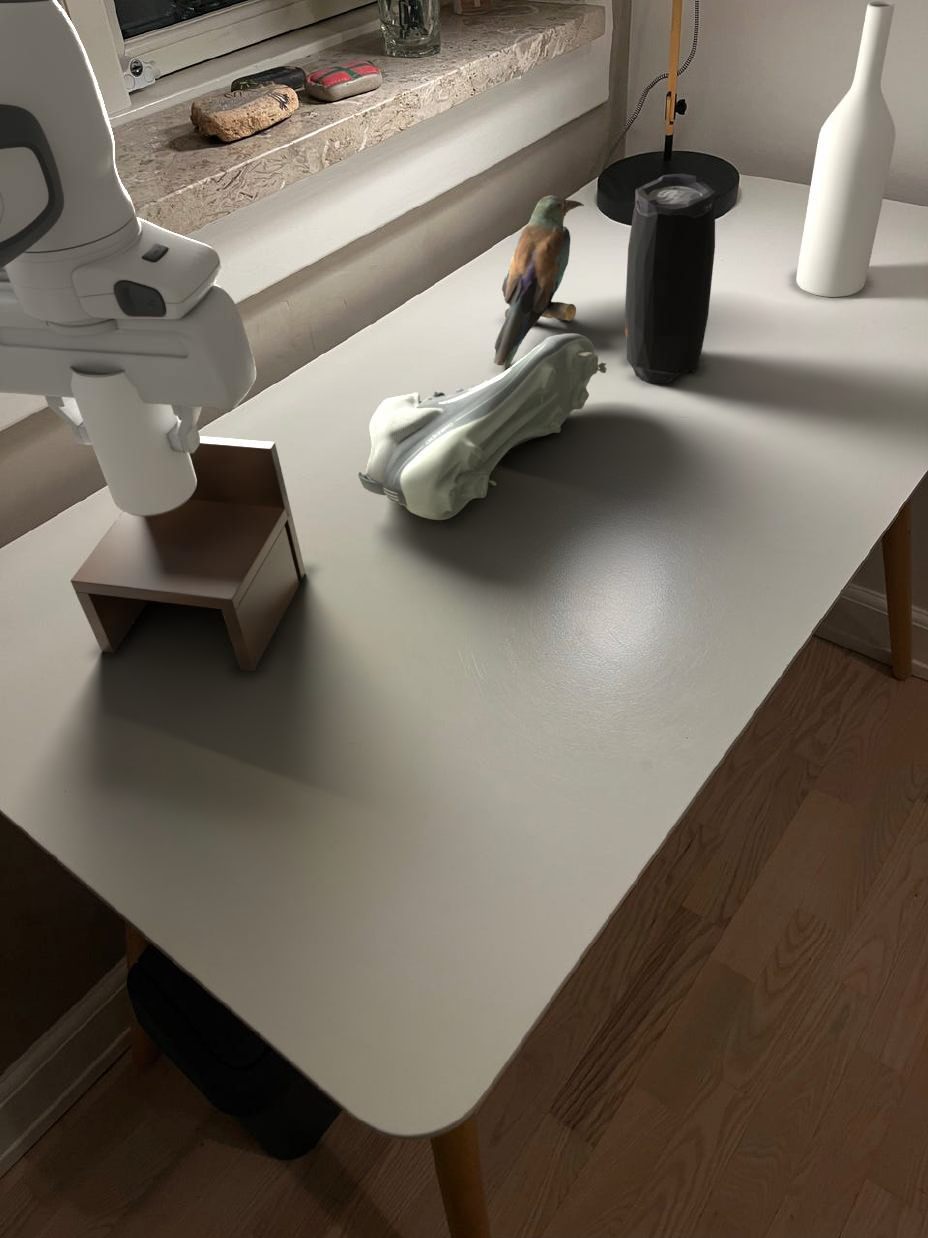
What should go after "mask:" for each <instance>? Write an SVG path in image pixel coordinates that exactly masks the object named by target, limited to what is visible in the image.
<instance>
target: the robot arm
mask: <svg viewBox="0 0 928 1238" xmlns="http://www.w3.org/2000/svg"><path fill="white" fill-rule="evenodd" d="M98 85H99V84H98V82H97V79H96V76H95V74H94V72H93V68H92V66H91V63H90V61H89V57H88V55H87V52H86V50H85V48H84V46H83V43H82V41H81V39H80V37H79V35H78V33H77V31H76V28H75V27H74V24H73V23H72V21H71V20H70V18H69V16H68V15H67V13H66V11H65V10H64V8H62V6H61V5H60V4H59V2H58V1H57V0H0V393H1V394H2V393H3V394H15V395H16V394H18V395H29V396H30V395H31V396H44V398H45V401H46V403H47V405H48V407H49V408H50V409H51V410H52V411H53V412H54V413H55V414H56V415H57V416H58V417H59V418H60V419H61V420H62V421H63V422H65V424H67V425H68V426H69V427H70V428H71V430H72V432H73V434H74V435H73V436H74V438H75V440H76V442H77V443H78V444H80V445H88V446H92V443H91V441H90V438H89V435H88V433H87V430H86V427H85V425H84V422H83V419H82V417H81V414H80V411H79V409H78V406H77V403H76V400H75V398H74V395H73V392H72V389H71V380H72V376H73V371H72V370H71V369H70V366H71V367H73V369H74V370H76V371H84V372H93V371H96V372H98V373H114V372H118V371H121V370H125V372H124V374H125V376H126V378H127V379H128V380H129V381H130V382H131V383H132V385H133V386H134V387H135V388H136V389H137V391H138V393H139V396H140V398H141V399H142V401H143V402H144V403H149V404H163V405H171V406H172V409H173V412H174V415H176V416H178V417H181V419H180V420H179V421H177V422H176V424H175V425H174V428H172V429H171V430H170V431H169V432H168V434H167V435H168V438H169V441H170V442H171V443H172V446H171V447H172V450H173V451H174V452H183V453H194V452H195V450H196V449H197V448H198V446H199V444H200V436H201V435H200V433H199V429H198V426H197V422H198V420H199V418H200V415H201V412H202V409H203V408H206V409H218V410H219V409H220V410H233V409H235V408H237V406H238V405H239V404H240V403H241V402H242V401H243V400H244V398H245V397H246V396H247V394H248V393H249V392H250V390H251V388H252V387H253V386H254V383H255V381H256V378H257V368H256V363H255V358H254V355H253V351H252V347H251V344H250V340H249V337H248V334H247V330H246V328H245V324H244V322H243V319H242V316H241V313H240V311H239V308H238V307H237V305H236V303H235V301H234V299H233V298H232V297H231V296H230V294H229V293H228V292H227V291H226V290H225V289H224V288H223V287H221V286H219V285H217V284H216V282H217V280H218V279H219V278H220V275H221V273H222V263H221V260H220V259H221V258H220V257H219V254H218V252H217V251H216V249H215V248H213V247H212V246H210V245H208V244H206V243H202V242H200V241H197V240H194V239H191V238H189V237H185V236H183V235H180V234H177V233H174V232H172V231H169V230H167V229H165V228H162V227H160V226H158V225H156V224H153V223H151V222H149V221H148V220H144V219H142V218H139V217H137V213H136V210H135V206H134V204H133V201H132V198H131V197H130V194H128V191H127V190H126V189H125V187H124V185H123V184H122V182H121V179H120V177H119V174H118V170H117V167H116V162H115V161H116V160H115V140H114V135H113V131H112V128H111V124H110V121H109V117H108V114H107V110H106V108H105V104H104V100H103V97H102V94H101V91H100V89H99V86H98Z"/></svg>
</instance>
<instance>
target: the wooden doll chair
mask: <svg viewBox="0 0 928 1238" xmlns="http://www.w3.org/2000/svg"><path fill="white" fill-rule="evenodd" d="M199 436H200V444H199V446H198V448H197V449H196V450H195V452H194V453H189V455H190V458H191V461H192V465H193V468H194V472H195V475H196V479H197V485H196V489H195V491H194V492H193V494H192V496H191V497H190V499H189V500H188V501H187V502H186V503H184V504H183V505H182V506H180V507H179V508H177V509H175V510H173V511H171V512H168V513H165V514H162V515H157V516H150V517H141V516H134V515H131V514H128V513H126V512H124V511H122V512H121V513H120V514H119V516H118V517H117V518H116V520H115V521H114V522H113V524H112V525H111V527H110V528H109V529H108V530H107V532H106V533H105V534H104V535H103V537H102V538H101V539H100V541H99V542H98V543H97V545H96V546H95V548H94V549H93V550H92V551H91V553H90V554H89V555H88V557H87V558H86V559H85V560H84V562H83V563H82V565H81V566H80V568H79V569H78V570H77V571H76V573H75V574H74V575H73V577H71V579H70V584H71V586H72V588H73V591H74V592H75V596H76V597H77V600H78V601H79V604H80V606H81V608H82V610H83V613H84V615H85V617H86V619H87V621H88V624H89V626H90V629H91V630H92V633H93V635H94V638H95V640H96V643H97V644H98V646H99V649H100V651H101V652H107V653H115V652H116V650H117V648H118V647H119V646H120V644H121V642H122V641H123V640H124V638H125V637H126V635H127V633H128V632H129V630H130V629H131V628H132V626H133V625H134V623H135V622H136V621H137V618H138V617H139V615H140V614H141V612H142V611H143V610H144V608H145V606H146V605H147V603H148V602H149V601H152V602H160V603H166V604H175V605H185V606H192V607H201V608H209V609H217V610H221V613H222V616H223V619H224V622H225V625H226V628H227V632H228V634H229V638H230V641H231V644H232V646H233V647H232V648H233V650H234V653H235V656H236V659H237V663H238V666H239V669H240V670H243V671H249V672H254V671H255V670H256V668H257V666H258V664H259V663H260V660H261V659H262V656H263V654H264V653H265V650H266V649H267V647H268V645H269V643H270V641H271V639H272V637H273V635H274V633H275V632H276V629H278V626H279V624H280V622H281V620H282V619H283V617H284V614H285V612H286V611H287V609H288V606H289V605H290V603H291V601H292V599H293V597H294V595H295V593H296V591H297V590H298V588H299V586H300V583H299V580H302V579H303V578H304V576H305V574H306V568H305V565H304V560H303V557H302V556H303V555H302V551H301V547H300V543H299V538H298V533H297V530H296V526H295V521H294V516H293V513H292V509H291V505H290V504H291V503H290V500H289V495H288V492H287V487H286V484H285V479H284V474H283V470H282V465H281V462H280V457H279V454H278V449H277V444H276V442H275V441H262V440H250V439H237V438H228V437H227V438H226V437H215V436H203V435H202V436H201V435H199Z"/></svg>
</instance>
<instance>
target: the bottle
mask: <svg viewBox="0 0 928 1238" xmlns="http://www.w3.org/2000/svg"><path fill="white" fill-rule="evenodd" d="M894 12H895V3H894V2H893V1H889V0H874V1H870V2H869V3H868V4H867V7H866V11H865V18H864V23H863V28H862V33H861V39H860V45H859V50H858V56H857V62H856V67H855V73H854V77H853V81H852V84H851V86H850V89H849V90H848V91H847V93H846V94H845V95H844V96H843V98H842V99H841V100H840V102H839V103H838V104H837V105H836V106H835V108H834V109H833V111H832V112H831V113H830V114H829V116H828V117H827V118H826V120H825V121H824V123H823V125H822V126H821V127H820V131H819V133H818V134H819V135H818V139H817V146H816V150H815V157H814V163H813V169H812V170H813V171H812V176H811V181H810V182H811V183H810V189H809V195H808V201H807V207H806V214H805V220H804V226H803V232H802V239H801V245H800V250H799V257H798V262H797V269H796V270H797V271H796V279H795V280H796V281H795V282H796V284H797V285H798V287H799V288H800V289H802V290H803V291H805V292H807V293H809V294H811V295H814V296H818V297H819V296H820V297H826V298H841V297H847V296H848V297H849V296H851V295H855V294H856V293H858V292H860V291H861V290H862V289H864V287H865V284H866V281H867V278H868V272H869V268H870V263H871V258H872V254H873V248H874V245H875V240H876V239H875V238H876V234H877V229H878V225H879V220H880V214H881V210H882V205H883V200H884V196H885V191H886V186H887V181H888V177H889V171H890V168H891V162H892V158H893V152H894V148H895V142H896V127H895V122H894V120H893V117H892V115H891V112H890V109H889V107H888V105H887V102H886V100H885V97H884V94H883V93H882V87H881V82H882V75H883V70H884V63H885V58H886V53H887V48H888V43H889V37H890V33H891V27H892V22H893V15H894Z"/></svg>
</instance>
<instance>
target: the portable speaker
mask: <svg viewBox="0 0 928 1238" xmlns="http://www.w3.org/2000/svg"><path fill="white" fill-rule="evenodd" d="M716 193H717V192H716V191H715V190H713V189H712V188H711V187H710V186H709V185H708V184H707V183H705V182H704V181H703V180H702V179H700V178H699V177H698V176H697V175H693V174H689V173H688V174H687V173H673V174H672V173H671V174H662V176H660V177H659V178H656V179H654V180H652V181H649V182H648V183H646V184H644V185H642V186H640V187H638V188H635V196H634V197H635V198H634V205H633V206H634V207H633V212H632V213H633V214H632V220H631V227H630V233H629V240H628V246H627V265H626V283H625V284H626V285H625V286H626V287H625V304H624V305H625V307H624V321H625V324H624V325H625V329H624V335H625V340H626V342H625V344H626V359H627V361H628V363H629V364H630V366H631V368H632V369H633V372H634V374H635V377H637V378H639V379H641V380H642V381H645V382H647V383H653V384H665V385H666V384H667V385H668V384H669V383H670V382H672V380H674V379H675V378H676V377H678V376H680V375H682V374H684V373H687V372H690V371H693V372H696V371H698V370H699V366H700V358H701V356H702V352H703V346H704V340H705V335H706V331H707V324H708V319H709V311H710V301H711V292H712V281H713V273H714V272H713V271H714V262H715V253H716Z"/></svg>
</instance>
